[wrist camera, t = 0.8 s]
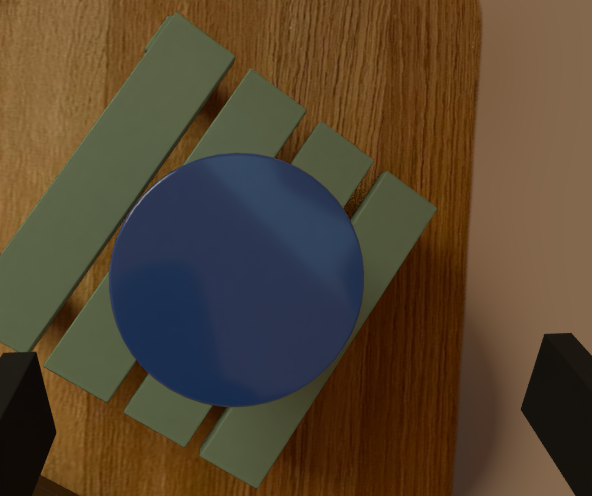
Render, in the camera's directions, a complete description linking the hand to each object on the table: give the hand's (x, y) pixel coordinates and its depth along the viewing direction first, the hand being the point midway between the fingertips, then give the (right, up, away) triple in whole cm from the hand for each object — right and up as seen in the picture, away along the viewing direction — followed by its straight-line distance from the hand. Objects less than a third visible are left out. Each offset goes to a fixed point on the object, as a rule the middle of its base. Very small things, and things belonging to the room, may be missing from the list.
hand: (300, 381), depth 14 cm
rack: (-5, +3, +16) cm, 17 cm away
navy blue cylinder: (-4, +3, +10) cm, 11 cm away
